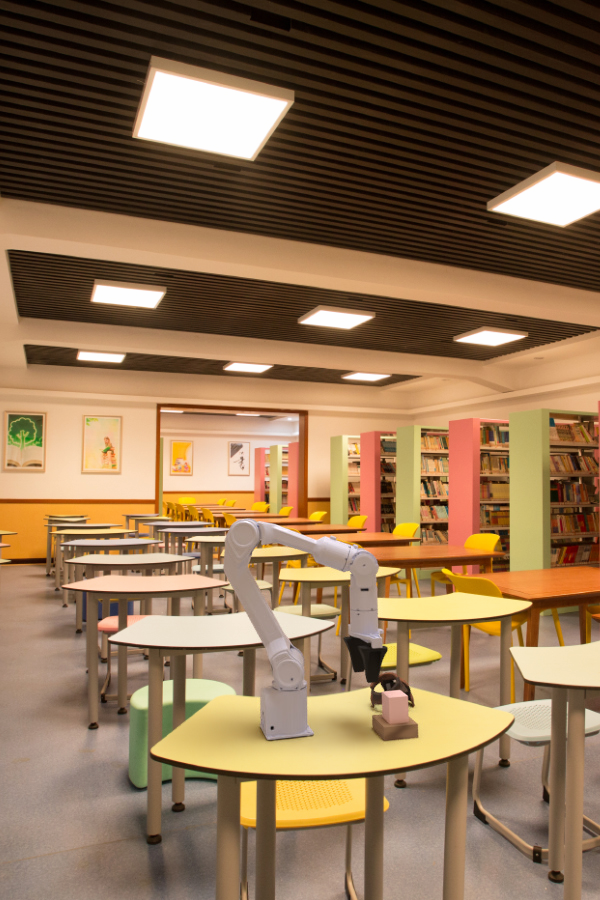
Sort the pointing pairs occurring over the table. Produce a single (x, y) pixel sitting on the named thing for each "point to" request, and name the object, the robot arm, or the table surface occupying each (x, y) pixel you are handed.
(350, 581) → the robot arm
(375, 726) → the brown block
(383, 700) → the pink block
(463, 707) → the table surface
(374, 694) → the brown curved piece
